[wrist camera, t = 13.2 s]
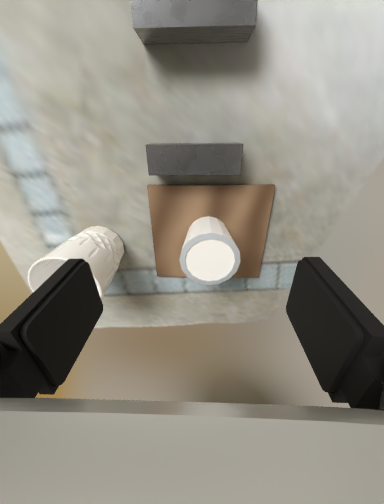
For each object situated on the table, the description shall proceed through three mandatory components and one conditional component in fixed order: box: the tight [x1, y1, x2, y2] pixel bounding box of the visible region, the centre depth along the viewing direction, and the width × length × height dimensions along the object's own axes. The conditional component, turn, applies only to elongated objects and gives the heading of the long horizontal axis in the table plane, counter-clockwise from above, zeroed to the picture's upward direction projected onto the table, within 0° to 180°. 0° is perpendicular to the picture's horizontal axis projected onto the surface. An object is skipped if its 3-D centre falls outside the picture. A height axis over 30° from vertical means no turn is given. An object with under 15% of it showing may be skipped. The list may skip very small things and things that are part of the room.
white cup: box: [28, 226, 124, 300], centre depth 27 cm, size 8×8×10 cm
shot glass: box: [179, 216, 241, 285], centre depth 26 cm, size 7×7×7 cm
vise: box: [131, 0, 258, 175], centre depth 20 cm, size 10×20×4 cm, turn 0°
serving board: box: [147, 184, 275, 277], centre depth 30 cm, size 16×14×1 cm
